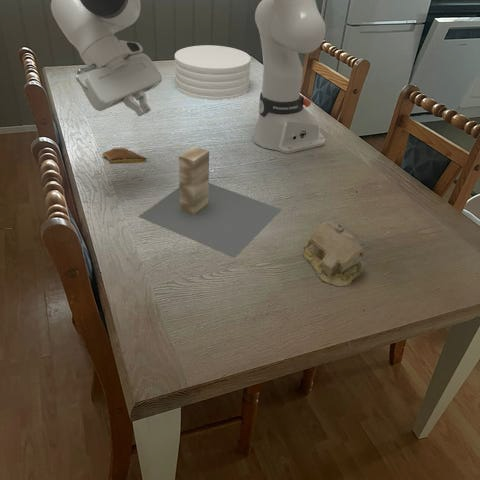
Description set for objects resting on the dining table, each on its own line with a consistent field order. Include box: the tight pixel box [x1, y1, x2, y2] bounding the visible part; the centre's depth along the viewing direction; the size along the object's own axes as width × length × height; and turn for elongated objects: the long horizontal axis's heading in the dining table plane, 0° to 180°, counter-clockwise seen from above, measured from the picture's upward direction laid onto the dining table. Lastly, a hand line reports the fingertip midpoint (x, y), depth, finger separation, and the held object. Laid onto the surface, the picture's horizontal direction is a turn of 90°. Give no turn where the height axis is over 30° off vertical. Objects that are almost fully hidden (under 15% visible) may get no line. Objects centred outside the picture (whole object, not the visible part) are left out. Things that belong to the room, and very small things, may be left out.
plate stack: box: [174, 44, 252, 101], centre depth 175 cm, size 28×28×12 cm
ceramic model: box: [303, 220, 366, 287], centre depth 95 cm, size 14×11×10 cm
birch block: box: [178, 145, 210, 214], centre depth 107 cm, size 4×6×14 cm, turn 150°
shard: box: [102, 146, 148, 164], centre depth 128 cm, size 11×8×2 cm
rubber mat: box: [137, 182, 282, 258], centre depth 110 cm, size 26×22×1 cm
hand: (145, 113), depth 104 cm, fingers closed
